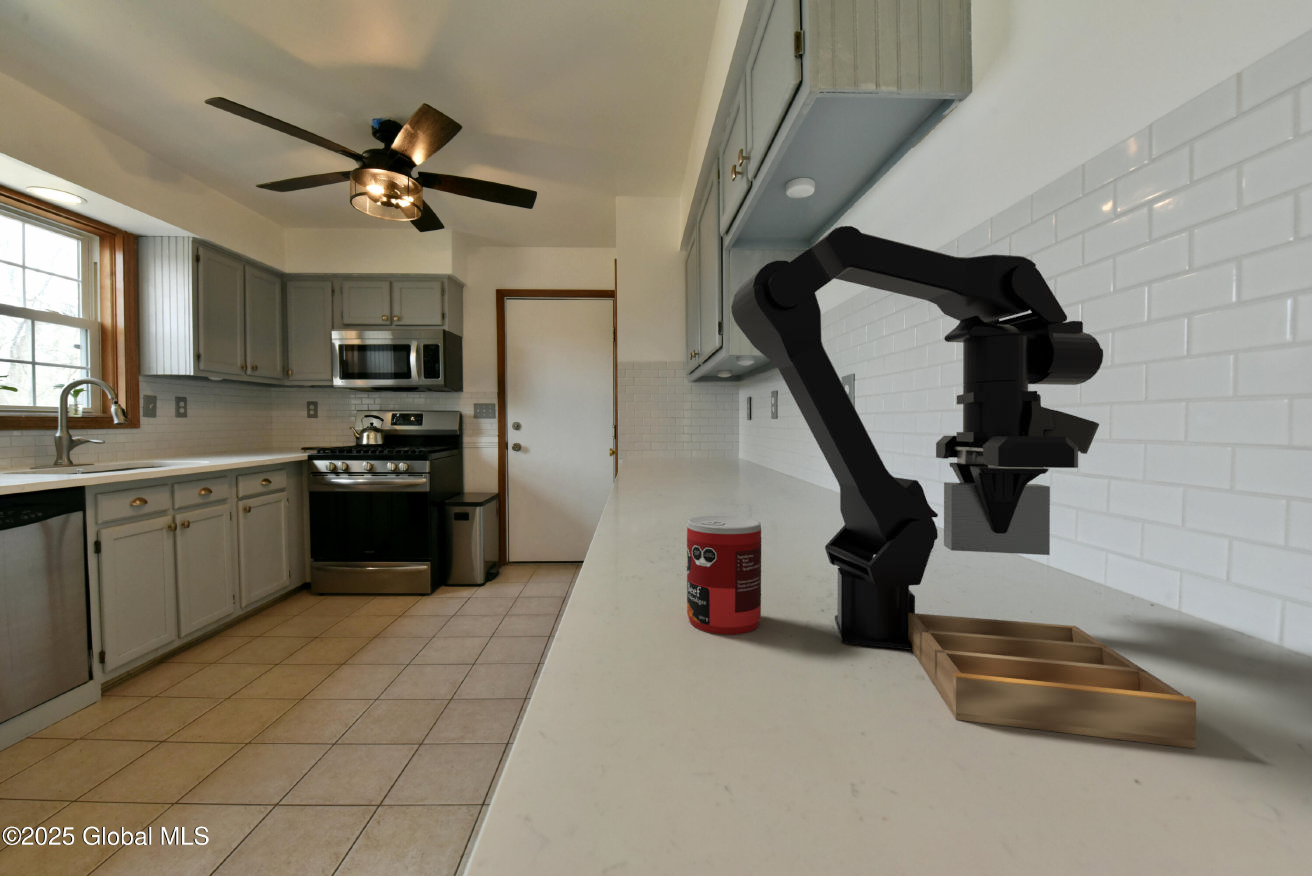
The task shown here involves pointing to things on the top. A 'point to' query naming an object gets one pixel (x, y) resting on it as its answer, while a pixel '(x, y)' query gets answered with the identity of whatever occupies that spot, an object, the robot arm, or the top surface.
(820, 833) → the top surface
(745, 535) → the canned food
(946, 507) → the panel
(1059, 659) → the tray
